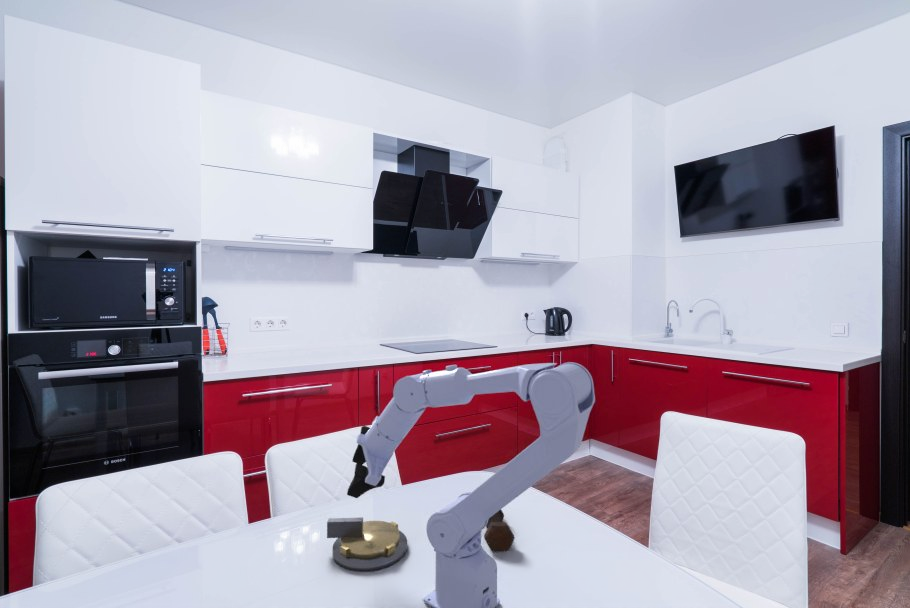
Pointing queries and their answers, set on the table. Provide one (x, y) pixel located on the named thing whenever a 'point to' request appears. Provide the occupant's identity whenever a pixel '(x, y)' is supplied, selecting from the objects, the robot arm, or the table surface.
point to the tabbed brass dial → (364, 537)
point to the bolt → (498, 533)
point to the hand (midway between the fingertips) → (354, 477)
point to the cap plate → (369, 563)
